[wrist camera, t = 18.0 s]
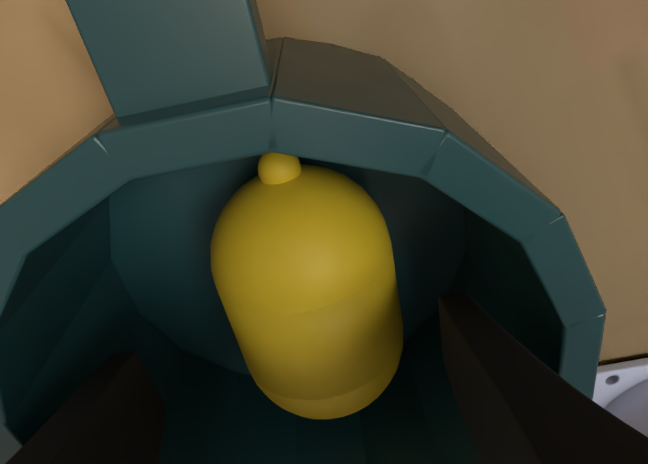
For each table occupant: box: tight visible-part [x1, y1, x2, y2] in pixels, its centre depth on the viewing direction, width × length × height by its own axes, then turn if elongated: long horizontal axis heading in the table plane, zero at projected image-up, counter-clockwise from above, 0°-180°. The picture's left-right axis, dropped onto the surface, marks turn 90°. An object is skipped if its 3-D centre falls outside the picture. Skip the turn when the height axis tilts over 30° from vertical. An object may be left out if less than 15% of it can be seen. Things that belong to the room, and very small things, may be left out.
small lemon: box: [210, 152, 403, 419], centre depth 13 cm, size 5×9×5 cm, turn 11°
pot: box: [0, 0, 606, 464], centre depth 12 cm, size 13×18×6 cm
